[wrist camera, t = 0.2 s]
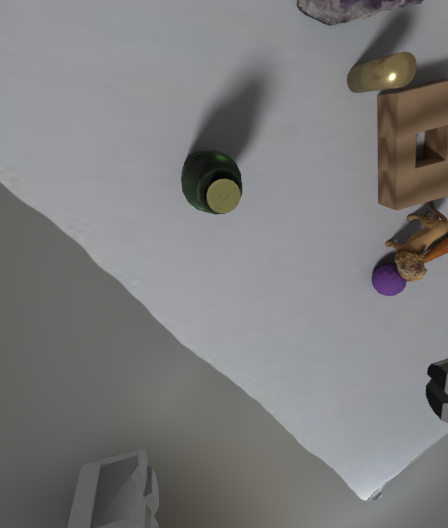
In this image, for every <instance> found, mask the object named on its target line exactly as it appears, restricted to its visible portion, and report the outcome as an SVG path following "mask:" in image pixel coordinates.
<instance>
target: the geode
mask: <svg viewBox="0 0 448 528" xmlns="http://www.w3.org/2000/svg"><path fill="white" fill-rule="evenodd" d="M422 1H423V0H297V7H298V8H299V10H300V11H301V12H303V13H304V14H305V15H307V16H309V17H312V18H314V19H316V20H318V21H320V22H322V23H324V24H327V25H336V24H339V23H345V22H349V21H351V20H353V19H356V18H363V19H364V18H365V17H370V16H371V15H372V14H377V13H378V12H382V11H385V10H395V9H397V8H399V7H407V6H410V5H412V4H421V3H422Z"/></svg>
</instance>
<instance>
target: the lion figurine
mask: <svg viewBox="0 0 448 528" xmlns="http://www.w3.org/2000/svg"><path fill="white" fill-rule="evenodd" d="M429 205H430V207H431V209H432V210H433V211H434V212H435V213H436V214H435V213H433V212H429V213H427V214H426V217H424V216H423V215H409V216H408V217H407V220H408V221H412V220H413V219H419V220H420V222H421V223H422V224H423V225H424V226H425V228H424V229H422V230H420V231H418V232H416V233H414V234H413V235H412V236H411V237H410V238H409V239H408V240H407V242H406V244H400V243H396V242H394V241H387V242H386V246H387V247H390V246H393V248H394V249H396V251H397V253H396V257H395V263H396V264H397V270H398V272H399V273H400V275H401V276H402V277H403V278H405V279H407V280H409V281H411V282H414V281H417V280H420V279H422V278H423V276H424V275H425V274H426V271H427V269H426V268H424V262H425V258H424V253H425V250H426V249H427V248H428V247H429V246H430V245H431V243H432V242H433V241H435V240H436V239H438V238H439V237H441V236H443V235H444V234H445V233H446V231H447V230H448V220H447V218H446V217H445V216H444V215H443V214H441V213H440V212H439V211H437V210H436V209H435V207H434V204H433V200H432V201H430V202H429ZM431 217H432V218H431ZM439 217H440V218H441V219H442V220H439Z"/></svg>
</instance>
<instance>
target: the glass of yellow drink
mask: <svg viewBox="0 0 448 528" xmlns="http://www.w3.org/2000/svg"><path fill="white" fill-rule="evenodd" d="M416 68H417V64H416V59H415V57H414V56H413V55H412V54H411V53H409V52H401V53H397V54H393V55H390V56H386V57H382V58H379V59H375V60H371V61H367V62H364V63H360V64H357V65H355V66H354V67H353V68H352V69H351V70H350V72H349V74H348V77H347V84H348V87H349V89H350V90H351V91H352V92H355V93H362V92H370V91H378V90H386V89H394V88H401V87H404V86H406V85H408V84H409V83H410V82H411V81H412V79H413V78H414V76H415V73H416Z"/></svg>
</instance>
